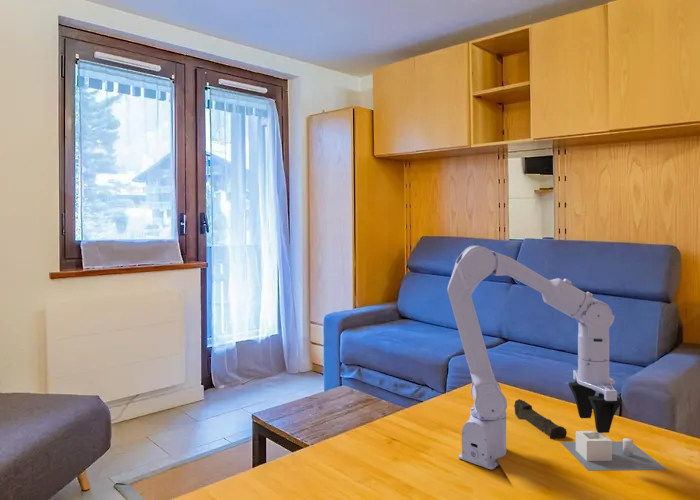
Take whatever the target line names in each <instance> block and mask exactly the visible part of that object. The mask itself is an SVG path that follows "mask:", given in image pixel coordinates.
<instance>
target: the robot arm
mask: <svg viewBox="0 0 700 500" xmlns="http://www.w3.org/2000/svg"><path fill="white" fill-rule="evenodd" d="M454 263H455V264H454V268H453V270H452V273H451V275H450V276H451V277H450V278H449V281H448V284H447V295H448V298H449V302H450V305H451V309H452V312H453V315H454V319H455V323H456V327H457V330H458V334H459V338H460V340H461V345H462V348H463V351H464V355H465V359H466V362H467V365H468V366H467V367H468V370H469V374H470V376H471V377H470V379H471V387H470V394H471V397H472V398H473V402H474V404H473V405H472V407H471V408H470V414H469V415H470V416H469V417H468V420H467V421H466V422H465V423H464V425H463V426H462V429H461V453H460V454H459V455H457V456H458V459H461V460H463V461H466V462H469V463H471V464H474V465H477V466H480V467H483V468H485V469H488V470H492V471H493V470H494V469H496V468H497V467H499V466H501V464H500V463H499V460H498V459H500V458H503V457H505V456H506V454H507V412H506V411H507V408H508V401H507V398H506V396H505V394H504V393H503V392H502V388H501V385H500V384H499V383H498V381H497V380H496V376H495V374H494V371H493V368H492V365H491V362H490V358H489V353H488V351H487V346H486V343H485V340H484V337H483V333H482V329H481V325H480V322H479V318H478V314H477V311H476V308H475V305H474V299H473V298H472V297H473V296H472V295H473V293H474V291H475V290H476V288H477V287H479V284H480V283H481V282H482V281H484V280H485V279H486V278H487V277H489V276H490V275H491V274H493V276H496V277H497V276H498V277H500V276H501V277H502V276H507V277H510V278H513V279H514V280H516V281H518V282H520V283H522V284H523V285H525V286H527V287H529V288H531V289H533V290H535V291H537V292H539V293H540V294H541V296H542V297H541V298H542V301H543V302H544V303H545V304H547V305H548V306H550V307H552V308H554V309H556V310H557V311H559V312H561V313H563V314H565V315H566V316H568V317H570V318H573V319H575V320H576V322H577V323H578V327H577V328H578V330H577V331H578V334H577V356H578V357H577V369H573V370H572V371H573V373H572V374H573V375H572V377H573V380H574V381H573V382H568V386H569V389H570V391H571V393H572V395H573V398H574V400H575V404H576V408H577V413H578V416H579V418H580V419H591V418H592V414H593V416H594V423H595V424H594V426H595V429H596V430H595V431H597V432H598V433H603V434H605V433H610V430H611V427H612V423H613V419H614V416H615V414H616V412H617V411H618V409H619V408H620V406H621V405H622V401H623V400H622V399H621V398H619V397H618V390H616V389H615V388H614V386H613V385H616V381H615V379H613V378H611V377H610V327H611V326H612V325H613V324H614V322H615V314H613V310H612V309H611V306H610V305H609V304H608V303H606V302H604V301H601V300H599V299H596V297H593V296H594V294H593V293H592V292H589V291H586V292H585V291H584V290H581V289H579V288H577V287H576V286H574V285H572V281H571V280H570V279H568V278H563V279H562V278H559V277H558V278H553V279H548V278H546V277H545V276H543V275H540V273H538V272H536V271H534V270H533V269H531V268H529V267H527V266H526V265H524V264H523V263H521V262H519V261H517V260H515V259H514V258H512V257H510V256H507V255H505V254H503V253H500V252H497V251H494V250H491V249H489V248H487V247H485V246H482V245H470V246H468V247H466V248H465V249H464V250H462V252H461V253H460V254H459V256H458V257H457V258H456V260H455V262H454ZM596 393H597V394H598V395H596Z"/></svg>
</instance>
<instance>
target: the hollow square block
mask: <svg viewBox="0 0 700 500" xmlns="http://www.w3.org/2000/svg"><path fill="white" fill-rule="evenodd" d="M575 442H576V451H577V452H578V453H579V454H580V455H581V456H582V457H583V458H584V459H585V460H586V461H612V442H613V440H612V439H611V438H609V437H608V436H607V435H606V434H605V433H598V432H597V430H576V431H575Z"/></svg>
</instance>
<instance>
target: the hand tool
mask: <svg viewBox="0 0 700 500" xmlns="http://www.w3.org/2000/svg"><path fill="white" fill-rule="evenodd" d="M513 406H514V413H515V416H516V417H517V418H518V420H521V421H522V420H525V421H527V423H529V424H531V425H532V426H534V427H535V428H536V429H538V430H539V431H541V432H542V433H543V434H545V435H546V436H548V437H549V439H551V440H555V439H556V440H559V439H565V438H566V437H567V434H568V433H567V431H568V430H567V429H566V428H565V427H564V426H561V425H560V426H559V425H557V424H556V423H554V421H552V419H549V418H546V417H544V416H543V415H542V414H540V413H539V412H537V411H536V410H534V409H533V406H532V405H531V404H529V403H528V402H526V401H525V400H523V399H516V400H515V402H514V405H513Z"/></svg>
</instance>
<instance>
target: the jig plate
mask: <svg viewBox="0 0 700 500" xmlns="http://www.w3.org/2000/svg"><path fill="white" fill-rule="evenodd" d="M560 443H561V445H562V446H564V447H565V449H566V450H567V451H569V453H570V454H571V455H572V456H573V457H574V458H575V459H576V460H577V461H578V462H579V463H580V464H581V465H582V467H584V468H585V469H586V470H587V471H594V472H595V471H597V472H598V471H602V472H604V471H605V472H606V471H663V470H664V471H665V470H667V471H668V468H666V467H665V466H663V465H662V464H661V463H659V461H657V460H656V459H654V458H653V457H652V456H650V455H649V454H647V453H646V452H645V451H644V450H643V449H641V448H640V447H638V446H637V445H636V444H635V443H634V441H633V439H631V438H626V437H625V438H623V439H622V440H621V441H612V461H586V460H585V459H584V458H583V457H582V456H581V455H580V454H579V453H578V452H577V451H576V441H560Z"/></svg>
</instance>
